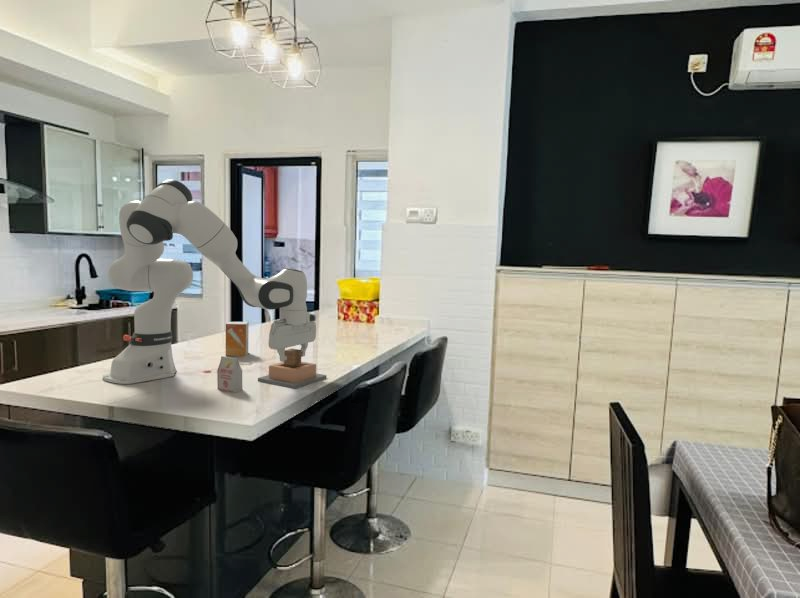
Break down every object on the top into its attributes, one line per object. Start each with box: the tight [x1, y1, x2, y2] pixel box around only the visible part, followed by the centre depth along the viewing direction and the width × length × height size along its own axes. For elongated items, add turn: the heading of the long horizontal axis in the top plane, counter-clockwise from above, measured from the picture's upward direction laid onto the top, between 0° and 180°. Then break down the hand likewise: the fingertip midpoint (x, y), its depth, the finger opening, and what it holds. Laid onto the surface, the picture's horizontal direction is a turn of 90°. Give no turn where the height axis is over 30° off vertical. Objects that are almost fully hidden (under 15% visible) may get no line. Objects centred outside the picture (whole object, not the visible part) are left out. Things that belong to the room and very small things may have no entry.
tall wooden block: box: [284, 348, 302, 368], centre depth 174 cm, size 4×4×9 cm
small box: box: [225, 321, 249, 357], centre depth 211 cm, size 8×6×13 cm
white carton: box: [216, 355, 243, 394], centre depth 160 cm, size 4×7×10 cm, turn 60°
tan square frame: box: [257, 361, 327, 389], centre depth 174 cm, size 16×16×5 cm
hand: (292, 358), depth 174 cm, fingers open, 8 cm apart
